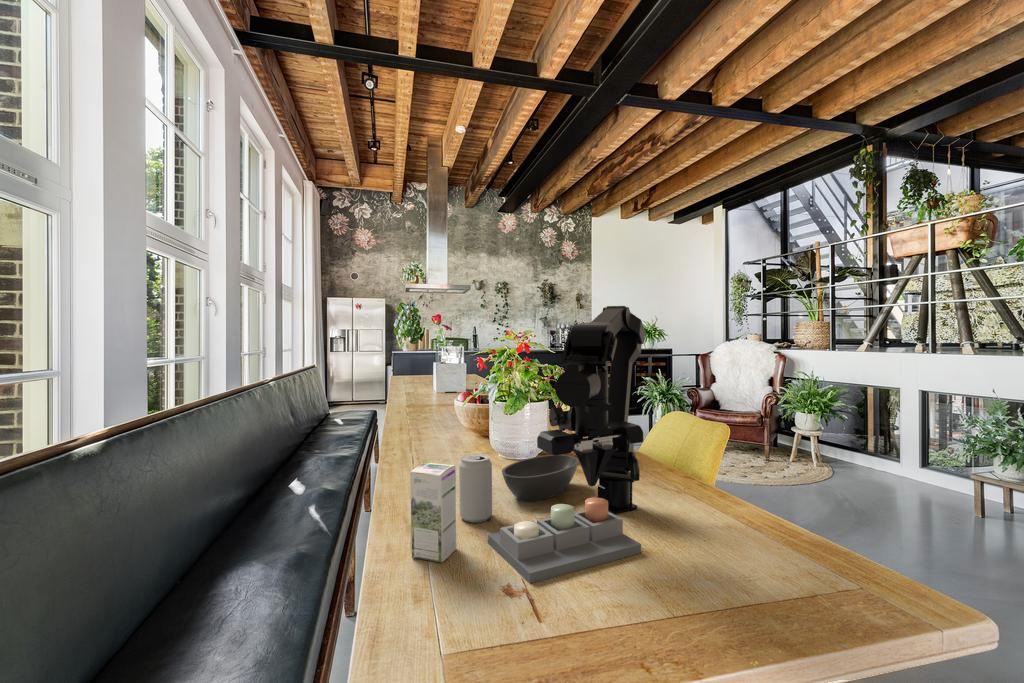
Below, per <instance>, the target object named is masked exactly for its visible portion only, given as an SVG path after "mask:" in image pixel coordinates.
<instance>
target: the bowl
mask: <svg viewBox="0 0 1024 683" xmlns="http://www.w3.org/2000/svg"><path fill="white" fill-rule="evenodd" d="M579 463H580V461H579V459H578V457H577V456H573V455H570V454H562V455H552V454H546V455H540V456H534V457H528V458H525V459H522V460H518V461H515V462H513V463H510V464H507V465H506V466H504V467H503V468H502V470H501V475H502V478H503V480H504V482H505V485H506V487H507V488H508V490H509V491H510V492H511V494H512V495H513V496H514V497H515V498H516V499H517V500H518V501H523V502H533V501H534V502H536V501H541V500H546V499H549V498H552V497H555V496H557V495H560V494H561V493H562V492H564V491H565V490H566V488H567V487H568V486H569V485H570V483H571V481H572V480H573V478H574V476H575V473H576V471H577V469H578V465H579Z"/></svg>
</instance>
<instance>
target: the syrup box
mask: <svg viewBox="0 0 1024 683" xmlns="http://www.w3.org/2000/svg"><path fill="white" fill-rule="evenodd" d="M456 469H457V468H456V465H455V464H445V463H435V462H424V463H421V464H420V465H418V466H416V467H415V468H413V469H412V470H410V474H409V475H410V477H409V478H410V480H409V481H410V526H411V527H410V529H411V530H410V531H411V532H410V534H411V535H410V536H411V558H413V559H418V560H424V561H431V562H436V563H443V562H444V561H446V559H448V558H449V557H450V556H451V555H452V554H453V553H454V551H456V550H457V515H456V514H457V513H456V512H457V511H456V510H457V509H456V508H457V507H456V506H457V503H456V502H457V496H456V495H457V494H456V493H457V474H456V473H457V472H456Z"/></svg>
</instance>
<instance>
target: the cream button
mask: <svg viewBox="0 0 1024 683" xmlns="http://www.w3.org/2000/svg"><path fill="white" fill-rule="evenodd" d="M536 523H537V522H536ZM536 523H534V522H531V521H528V520H527V521H525V520H524V521H523V520H522V521H519V522H516V523H515V524H513V525H514V535H515V536H516V537H517V538H518V539H519V540H523V539H527V538H532V537H536V536H539V526H538V524H536Z"/></svg>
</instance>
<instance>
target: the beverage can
mask: <svg viewBox="0 0 1024 683" xmlns="http://www.w3.org/2000/svg"><path fill="white" fill-rule="evenodd" d="M460 460H461V461H460V462H459V464H458V473H459V474H458V476H459V478H458V479H459V483H458V484H459V486H458V488H459V492H458V493H459V494H458V495H459V516H460V518H462V519H463V520H464V521H465V522H469V523H482V522H485V521H487V519H488V520H489V519H490V518H491V516H492V515H493V467H492V465H493V464H492V461H491V457H490V456H489V455H488V454H484V453H471V454H466V455H465V454H464V455H462V456H461V457H460Z"/></svg>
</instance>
